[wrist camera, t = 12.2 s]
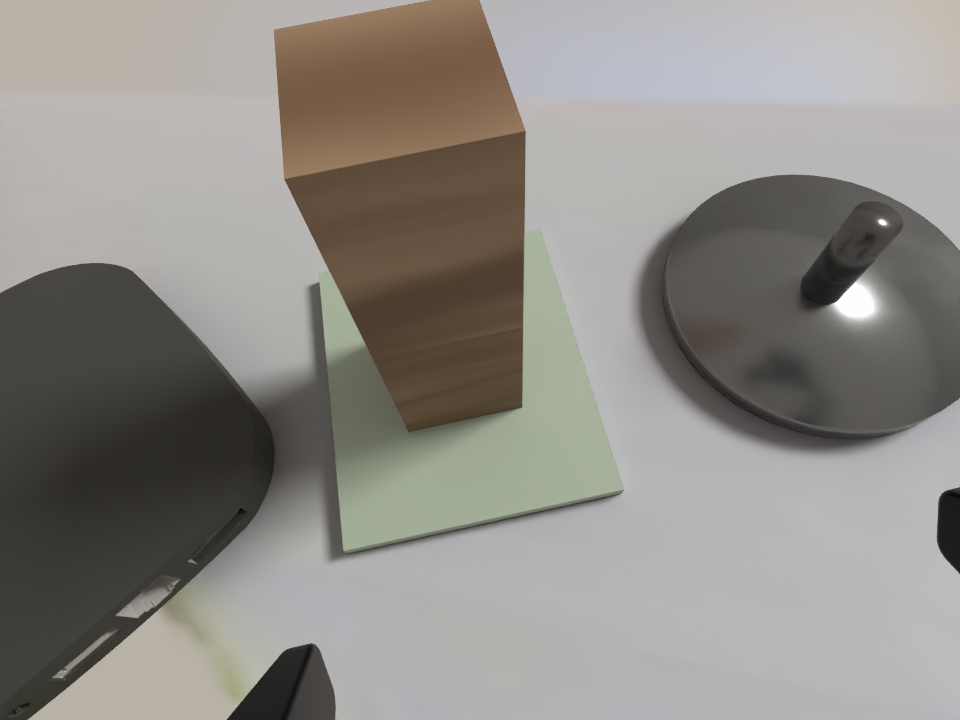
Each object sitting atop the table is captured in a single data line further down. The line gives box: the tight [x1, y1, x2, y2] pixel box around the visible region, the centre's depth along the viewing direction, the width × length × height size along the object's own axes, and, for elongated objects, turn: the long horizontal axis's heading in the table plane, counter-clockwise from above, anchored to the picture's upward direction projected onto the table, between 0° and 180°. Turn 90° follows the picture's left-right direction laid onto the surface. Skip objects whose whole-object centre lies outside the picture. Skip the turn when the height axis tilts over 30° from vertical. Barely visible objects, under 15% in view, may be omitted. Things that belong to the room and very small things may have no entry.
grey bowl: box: [663, 175, 960, 439], centre depth 22 cm, size 12×12×5 cm
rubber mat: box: [319, 229, 624, 553], centre depth 23 cm, size 12×10×1 cm
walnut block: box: [274, 0, 525, 432], centre depth 17 cm, size 4×4×13 cm
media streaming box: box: [0, 263, 274, 720], centre depth 21 cm, size 15×15×3 cm
